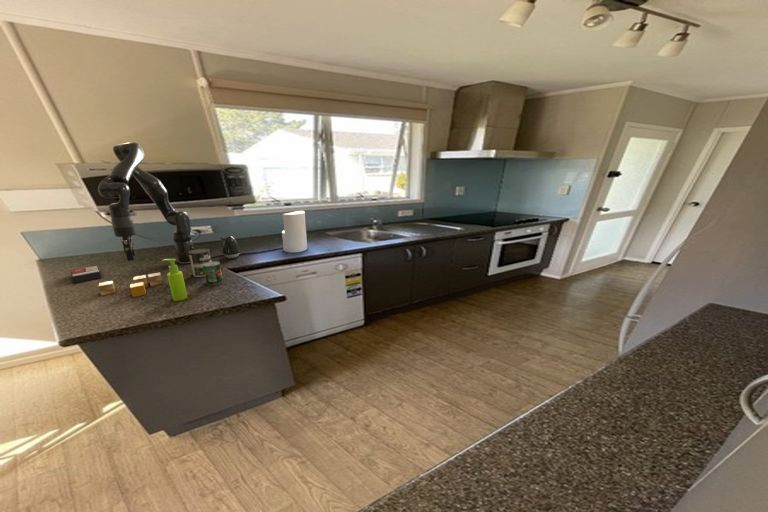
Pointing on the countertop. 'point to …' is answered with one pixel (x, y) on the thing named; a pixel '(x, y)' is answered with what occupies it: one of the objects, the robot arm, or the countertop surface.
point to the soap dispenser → (176, 282)
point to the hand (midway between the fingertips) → (131, 258)
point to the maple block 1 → (106, 288)
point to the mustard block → (137, 289)
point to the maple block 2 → (155, 279)
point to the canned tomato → (213, 273)
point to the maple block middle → (141, 280)
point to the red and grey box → (85, 274)
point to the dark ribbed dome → (230, 247)
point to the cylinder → (294, 232)
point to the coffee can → (199, 261)
